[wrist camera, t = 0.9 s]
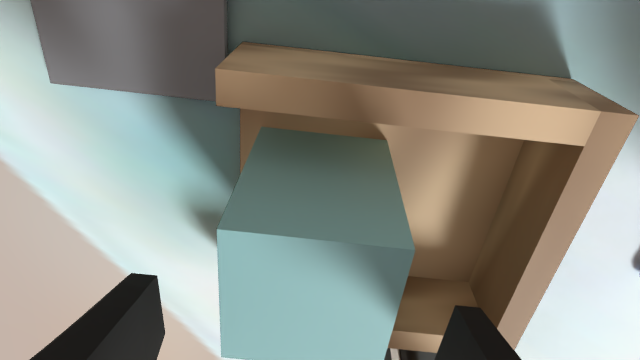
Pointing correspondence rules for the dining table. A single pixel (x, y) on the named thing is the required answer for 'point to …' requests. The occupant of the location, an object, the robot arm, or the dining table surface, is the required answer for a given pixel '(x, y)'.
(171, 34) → the coaster
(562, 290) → the dining table surface
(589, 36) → the dining table surface
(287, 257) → the block
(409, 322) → the crate
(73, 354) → the robot arm
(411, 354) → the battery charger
